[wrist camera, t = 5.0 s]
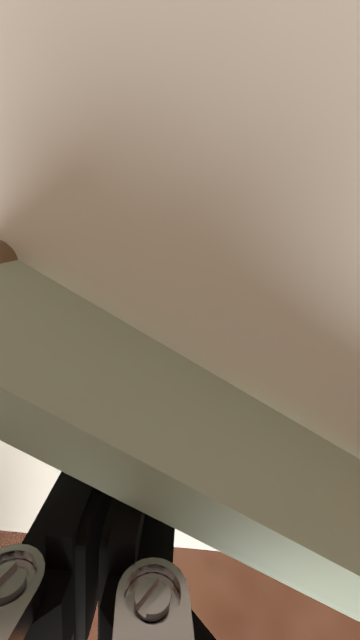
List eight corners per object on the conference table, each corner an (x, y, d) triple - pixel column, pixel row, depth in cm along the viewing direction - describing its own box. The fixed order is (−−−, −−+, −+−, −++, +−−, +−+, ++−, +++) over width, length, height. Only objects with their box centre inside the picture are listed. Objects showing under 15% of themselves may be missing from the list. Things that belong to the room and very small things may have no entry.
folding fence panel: (401, 475, 13) (589, 698, 7) (374, 502, 14) (529, 736, 7) (-19, 228, 11) (-287, 235, 5) (-36, 270, 11) (-306, 327, 5)
